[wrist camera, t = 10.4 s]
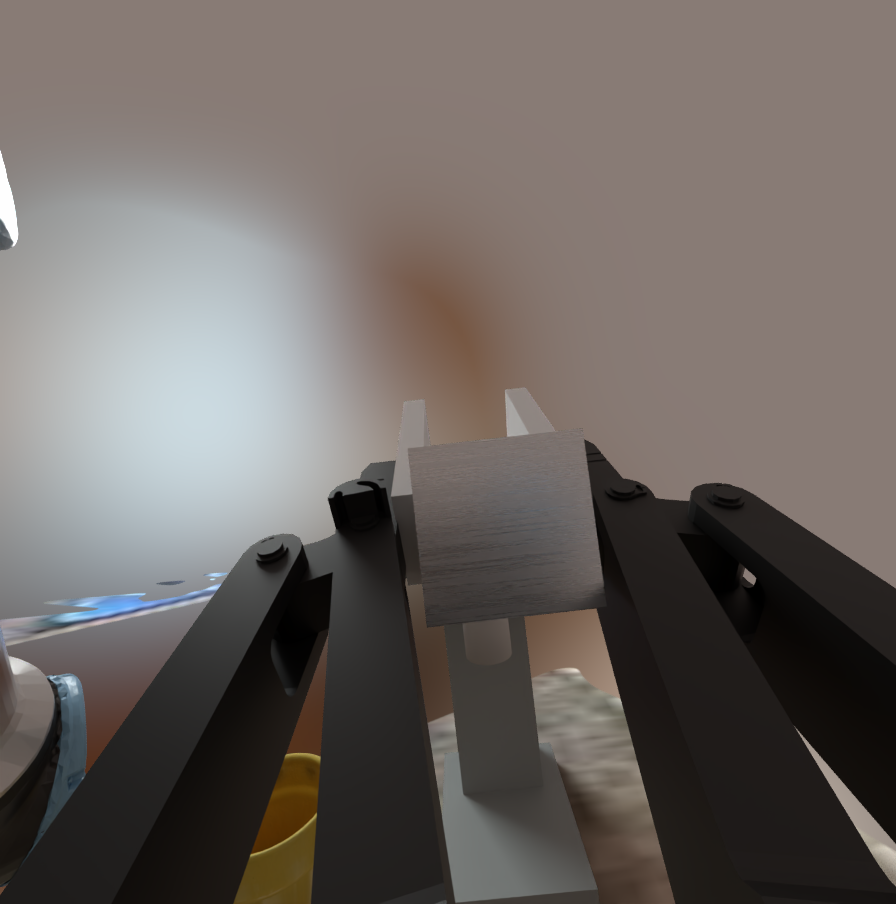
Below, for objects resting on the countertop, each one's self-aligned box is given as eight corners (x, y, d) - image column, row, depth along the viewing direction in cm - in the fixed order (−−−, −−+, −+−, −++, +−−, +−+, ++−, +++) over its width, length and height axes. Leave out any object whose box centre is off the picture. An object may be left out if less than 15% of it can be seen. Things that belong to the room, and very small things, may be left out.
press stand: (441, 946, 31) (395, 538, 31) (446, 770, 48) (416, 508, 48) (605, 931, 31) (558, 520, 31) (552, 760, 48) (521, 496, 48)
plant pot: (286, 1027, 27) (269, 876, 27) (177, 970, 31) (163, 838, 31) (372, 873, 37) (359, 761, 37) (281, 844, 41) (270, 743, 41)
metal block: (337, 637, 7) (314, 400, 7) (422, 519, 27) (416, 457, 27) (697, 597, 7) (662, 360, 7) (515, 508, 27) (508, 447, 27)
